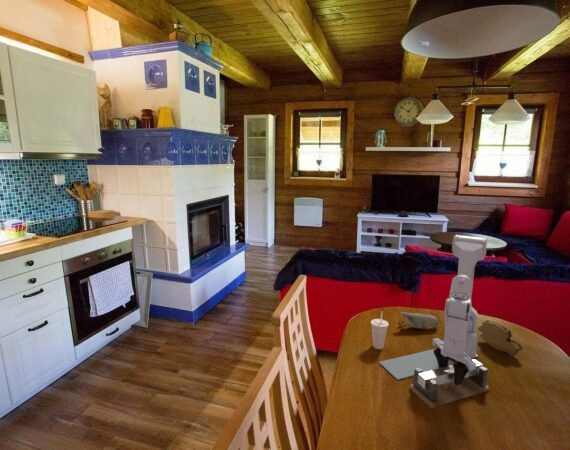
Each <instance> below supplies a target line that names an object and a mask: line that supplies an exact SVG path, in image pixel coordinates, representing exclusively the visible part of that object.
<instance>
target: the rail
mask: <svg viewBox="0 0 570 450" xmlns="http://www.w3.org/2000/svg"><path fill="white" fill-rule="evenodd" d="M472 360H473V361H474V362H475V363H476V369H475V370H472V371H470V370H469V371H468V373H467V374H466V375H465V377H464V378H466V377H470V376H473V375H477V374H479V367H483V365H484V364H482V362H480V361H478V360H477V359H475V358H472ZM454 376H455V373H454V368H453V365H450V366H446V367H442V368H438V369H434V370H431V371H427V372H423V373H419V374H418V384H420V385H421V386H422V387H423V388H424V389H427V388H429V383H430V381H431V380H435V381H436V382H438V385H441V384H445V383H448V382H452V381H454Z"/></svg>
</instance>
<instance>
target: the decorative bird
mask: <svg viewBox="0 0 570 450" xmlns="http://www.w3.org/2000/svg"><path fill="white" fill-rule="evenodd" d="M399 315H401V316H402V318H403V321H402V322H400V321H399V320H398V325H399V327H400V328H401V329H402V331H404V327H406V326H408V327H410V328H413V329H420V330H423V329H426V328H428V327H433V329H438V325H439V321H438V318H437V317H436V315H435V316H434V315H432V314H422V313H417V312H416V313H414V312H413V313H412V312H407V311H405V312H404V311H400V313H399ZM403 323H405V324H404V325H402V324H403Z"/></svg>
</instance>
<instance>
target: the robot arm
mask: <svg viewBox="0 0 570 450" xmlns="http://www.w3.org/2000/svg"><path fill="white" fill-rule="evenodd" d="M452 239H453V240H452V246H451V251H452V254H453V256H454V257H456V258H458V264H457V266H458V267H457V275H456V276H454V277H453V278H452V281H451V285H450V290H449V296H448V298H446V300H445V304H444V305H445V306H444V327H445V328H444V333H443V340H441V339H440V338H437V337H436V338H433V339H432V346H434V347H436V349H435V350H434V352H433V353H434V354H435V356H436V359H437V362H438V366H439V368H442V367H446V366H448V361H449V360H450V359H453V360H455V361H456V363H455V362H454V363H455V364H453V368H454V373H455V376H454V384H455V385H460V384H462V381H463V379H464V377H465V375H466V374H467V373H468V371H469V370H470V371H472V370H475V369H476V363H475V362H474V361H473V359H475V358H478V357H479V355H478V354H477V351H478V350H477V348H478V339H479V338H478V335H477V327H478V319H479V318H478V317H479V316H478V314H479V313H478V311H477V310H476V309H475V308H474V307H473V306H472V294H473V288H474V286H473V285H474V276H475V267H476V265H477V263H478V262H479V261H483V260H485V258H486V254H487V245H488V239H487V238H486V237H484V238H483V237H479V236H478V237H477V236H468V235H462V234H461V235H459V234H455V235H454V236H453V238H452Z"/></svg>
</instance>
